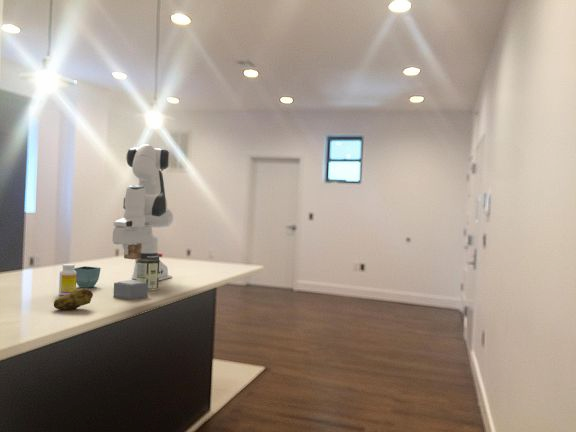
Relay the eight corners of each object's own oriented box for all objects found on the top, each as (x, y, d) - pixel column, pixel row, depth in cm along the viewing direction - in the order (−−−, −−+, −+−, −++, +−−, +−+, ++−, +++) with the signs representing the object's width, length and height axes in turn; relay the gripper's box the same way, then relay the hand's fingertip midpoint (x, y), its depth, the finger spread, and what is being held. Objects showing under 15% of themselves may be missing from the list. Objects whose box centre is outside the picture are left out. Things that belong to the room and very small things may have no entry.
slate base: (130, 293, 221) (131, 279, 221) (147, 296, 216) (148, 282, 216) (113, 296, 212) (114, 281, 212) (130, 299, 207) (130, 284, 207)
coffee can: (144, 286, 241) (145, 257, 241) (162, 288, 238) (163, 259, 238) (131, 289, 232) (132, 259, 231) (149, 291, 228) (151, 261, 228)
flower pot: (89, 289, 227) (90, 269, 227) (72, 287, 228) (73, 268, 228) (100, 286, 235) (101, 267, 235) (83, 284, 237) (84, 266, 237)
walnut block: (132, 257, 217) (133, 244, 217) (140, 258, 215) (141, 244, 215) (123, 258, 213) (124, 244, 213) (132, 259, 210) (132, 245, 210)
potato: (58, 306, 187) (59, 285, 187) (93, 307, 189) (94, 286, 189) (51, 311, 179) (52, 289, 179) (88, 312, 181) (89, 290, 181)
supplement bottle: (78, 295, 211) (79, 265, 211) (62, 296, 207) (63, 266, 206) (71, 292, 216) (73, 263, 216) (56, 293, 211) (57, 264, 211)
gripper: (146, 222, 224) (144, 252, 224) (110, 221, 206) (109, 254, 206) (156, 222, 221) (155, 253, 221) (121, 222, 203) (119, 256, 203)
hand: (132, 254), depth 214 cm, fingers closed on walnut block, 5 cm apart
